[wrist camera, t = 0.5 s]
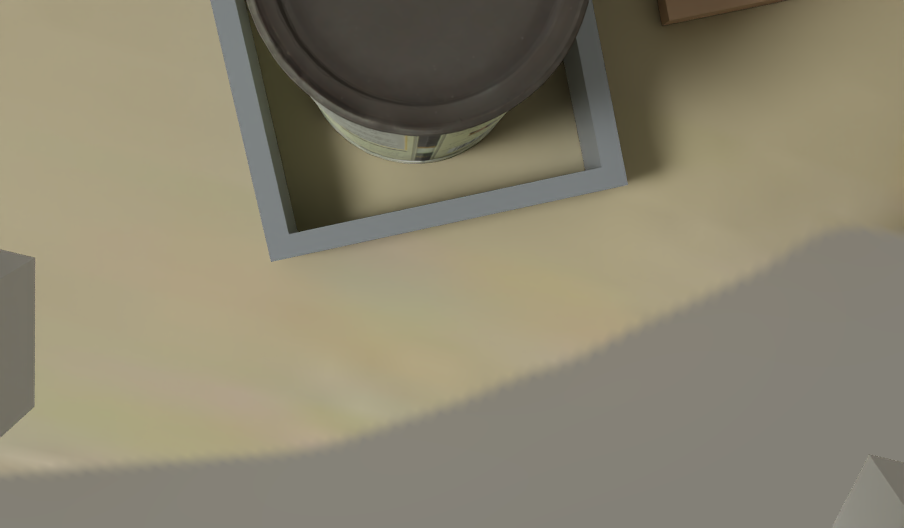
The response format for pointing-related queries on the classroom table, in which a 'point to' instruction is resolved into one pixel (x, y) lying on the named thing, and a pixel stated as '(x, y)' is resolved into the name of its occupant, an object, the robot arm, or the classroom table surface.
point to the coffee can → (417, 65)
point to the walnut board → (702, 8)
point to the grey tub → (287, 242)
